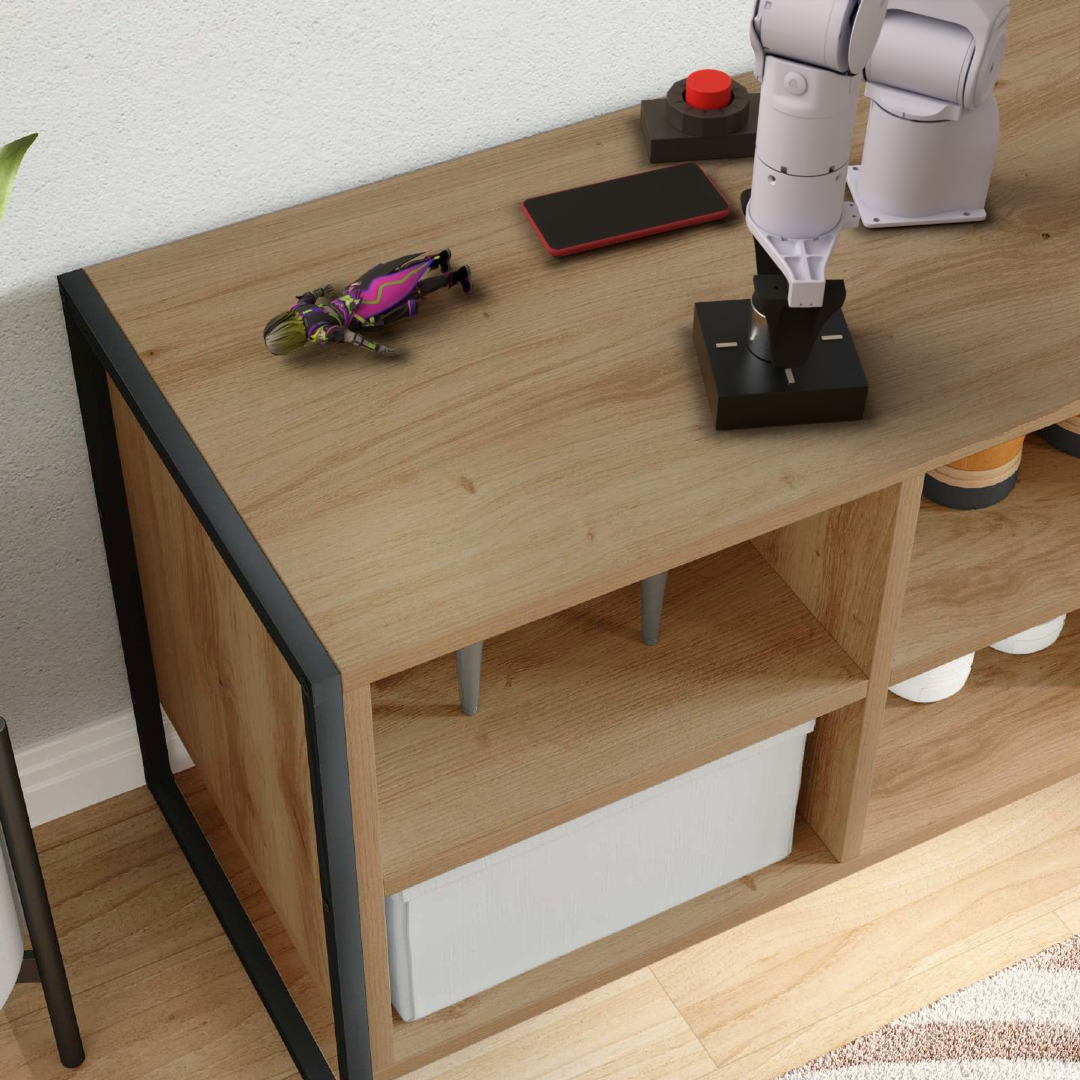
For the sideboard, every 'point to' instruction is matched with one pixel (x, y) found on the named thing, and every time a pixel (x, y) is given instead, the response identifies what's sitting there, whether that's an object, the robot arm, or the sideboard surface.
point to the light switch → (699, 126)
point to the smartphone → (624, 208)
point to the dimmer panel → (775, 373)
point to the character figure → (363, 305)
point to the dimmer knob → (757, 331)
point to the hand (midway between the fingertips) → (781, 326)
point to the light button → (708, 89)
